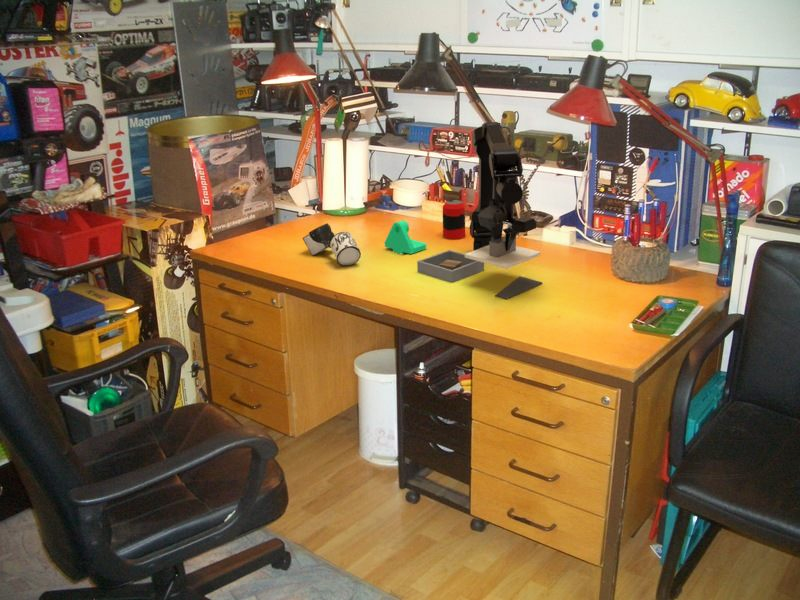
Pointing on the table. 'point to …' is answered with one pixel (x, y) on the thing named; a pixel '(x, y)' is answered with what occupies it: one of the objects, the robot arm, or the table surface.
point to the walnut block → (451, 264)
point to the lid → (502, 254)
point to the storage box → (433, 269)
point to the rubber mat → (518, 287)
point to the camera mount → (402, 239)
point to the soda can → (453, 220)
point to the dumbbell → (333, 244)
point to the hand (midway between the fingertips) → (502, 249)
